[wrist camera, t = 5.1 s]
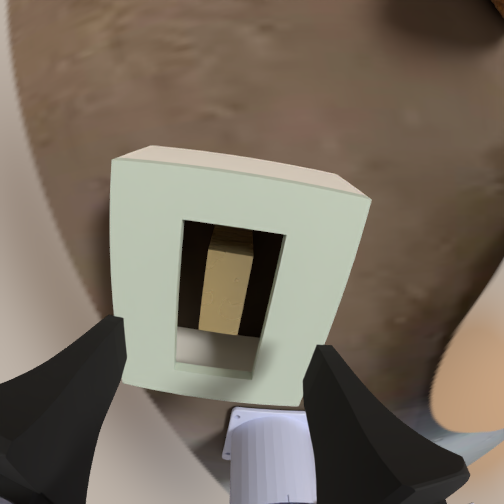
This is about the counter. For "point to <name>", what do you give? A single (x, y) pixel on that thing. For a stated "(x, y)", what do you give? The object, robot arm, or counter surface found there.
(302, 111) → the counter surface
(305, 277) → the box
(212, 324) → the tan rectangular block
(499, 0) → the stuffed squirrel
